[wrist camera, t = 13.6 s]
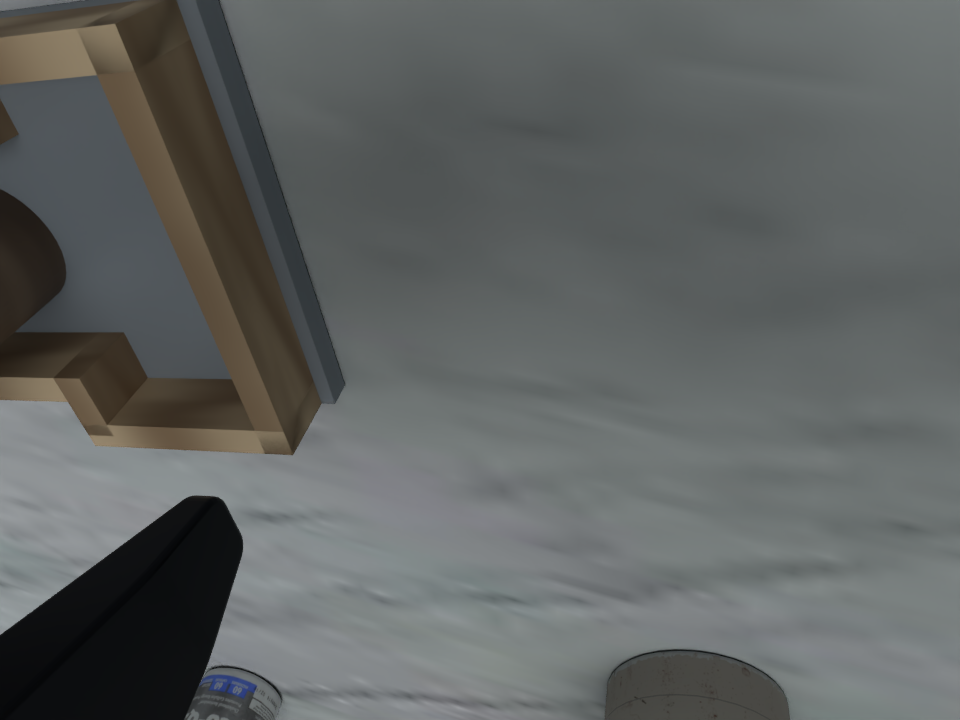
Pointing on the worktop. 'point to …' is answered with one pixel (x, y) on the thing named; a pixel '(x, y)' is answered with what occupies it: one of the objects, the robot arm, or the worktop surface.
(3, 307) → the walnut peg
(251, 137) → the keyhole plate
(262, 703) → the pill bottle
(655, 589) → the worktop surface
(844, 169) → the worktop surface
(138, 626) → the robot arm
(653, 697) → the thermos bottle
